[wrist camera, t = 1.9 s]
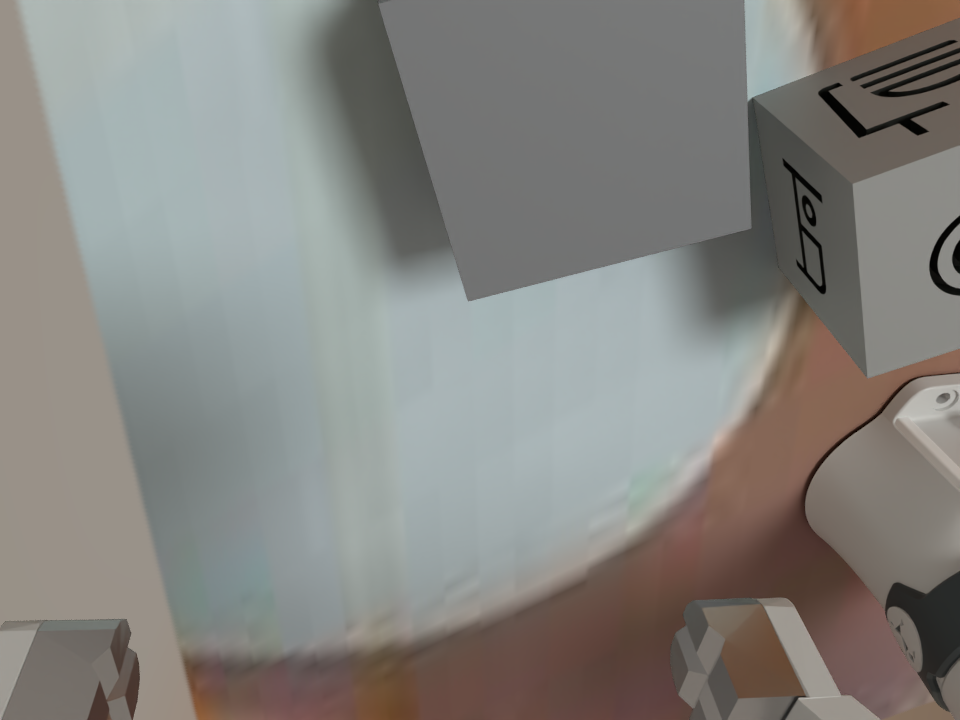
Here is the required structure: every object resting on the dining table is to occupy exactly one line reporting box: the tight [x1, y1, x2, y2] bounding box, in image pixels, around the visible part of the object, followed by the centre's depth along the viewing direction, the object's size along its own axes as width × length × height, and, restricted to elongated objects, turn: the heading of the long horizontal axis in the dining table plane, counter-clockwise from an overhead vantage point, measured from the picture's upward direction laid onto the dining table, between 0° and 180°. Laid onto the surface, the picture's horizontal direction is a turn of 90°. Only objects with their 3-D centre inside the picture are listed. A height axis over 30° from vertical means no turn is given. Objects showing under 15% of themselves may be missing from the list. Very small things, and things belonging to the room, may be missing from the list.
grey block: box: [378, 0, 751, 301], centre depth 32 cm, size 12×12×8 cm
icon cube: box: [753, 18, 960, 378], centre depth 35 cm, size 10×10×10 cm
